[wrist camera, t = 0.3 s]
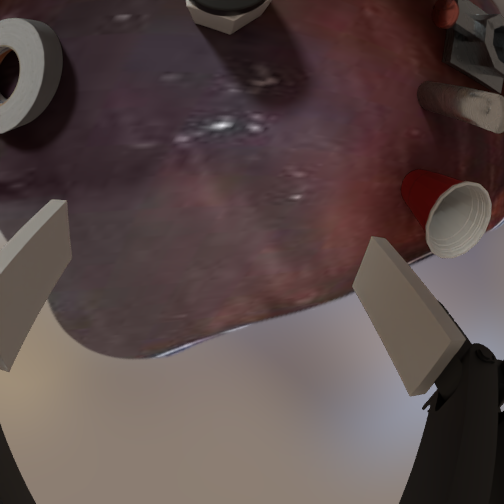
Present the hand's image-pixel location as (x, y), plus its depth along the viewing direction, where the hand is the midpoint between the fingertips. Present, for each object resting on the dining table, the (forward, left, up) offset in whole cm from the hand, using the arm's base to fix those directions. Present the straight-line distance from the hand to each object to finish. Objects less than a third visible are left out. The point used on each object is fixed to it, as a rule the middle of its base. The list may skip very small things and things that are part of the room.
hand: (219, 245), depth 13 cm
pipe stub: (-12, +27, -28) cm, 40 cm away
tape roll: (-8, -29, -28) cm, 41 cm away
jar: (-17, -2, -28) cm, 32 cm away
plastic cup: (+2, +29, -28) cm, 40 cm away
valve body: (-24, +32, -27) cm, 48 cm away
